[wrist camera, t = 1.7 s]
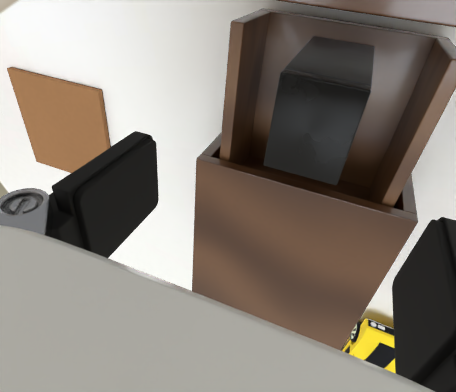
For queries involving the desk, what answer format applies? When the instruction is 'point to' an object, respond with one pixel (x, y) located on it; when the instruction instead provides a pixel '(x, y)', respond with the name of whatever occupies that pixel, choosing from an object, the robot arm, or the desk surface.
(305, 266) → the cabinet
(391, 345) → the toy car
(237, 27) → the drawer
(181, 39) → the desk surface
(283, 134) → the tall lidded canister
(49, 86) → the pad
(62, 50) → the desk surface
